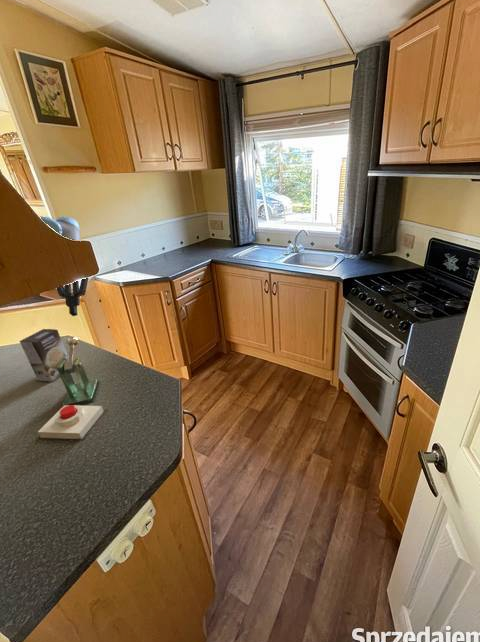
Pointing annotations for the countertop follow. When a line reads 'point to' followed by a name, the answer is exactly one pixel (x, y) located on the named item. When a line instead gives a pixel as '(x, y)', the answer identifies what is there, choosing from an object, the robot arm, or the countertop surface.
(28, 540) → the countertop surface
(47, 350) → the coffee box
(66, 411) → the stop button
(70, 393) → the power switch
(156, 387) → the countertop surface
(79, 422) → the white button base
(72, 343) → the lever
